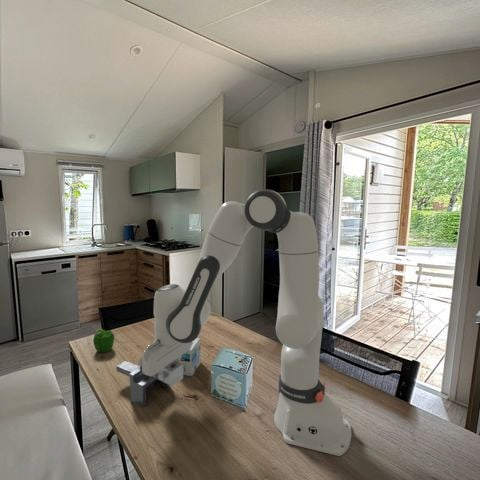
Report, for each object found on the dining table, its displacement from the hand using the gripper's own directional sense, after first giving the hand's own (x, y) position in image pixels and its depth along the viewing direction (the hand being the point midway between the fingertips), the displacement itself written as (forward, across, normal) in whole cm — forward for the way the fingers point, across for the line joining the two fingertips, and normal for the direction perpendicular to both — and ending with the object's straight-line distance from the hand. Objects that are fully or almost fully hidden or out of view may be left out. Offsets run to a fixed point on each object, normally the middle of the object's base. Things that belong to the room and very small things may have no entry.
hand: (169, 373), depth 96 cm
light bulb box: (+10, +19, +7) cm, 23 cm away
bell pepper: (+11, +12, +49) cm, 51 cm away
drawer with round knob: (+10, 0, +14) cm, 18 cm away
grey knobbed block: (+2, 0, 0) cm, 2 cm away
